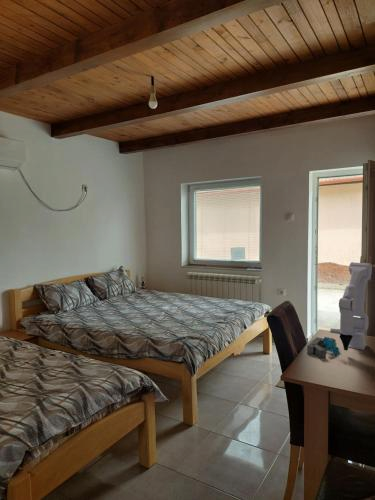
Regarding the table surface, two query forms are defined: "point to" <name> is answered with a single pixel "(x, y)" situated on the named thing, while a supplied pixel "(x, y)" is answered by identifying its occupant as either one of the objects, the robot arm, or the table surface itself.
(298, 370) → the table surface
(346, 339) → the robot arm
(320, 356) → the v block
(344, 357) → the table surface
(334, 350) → the teal lobed flat part
